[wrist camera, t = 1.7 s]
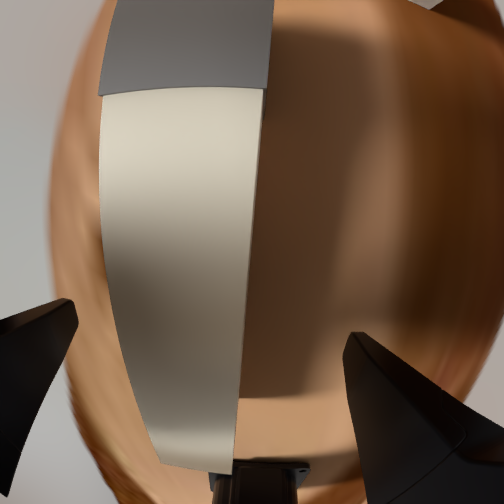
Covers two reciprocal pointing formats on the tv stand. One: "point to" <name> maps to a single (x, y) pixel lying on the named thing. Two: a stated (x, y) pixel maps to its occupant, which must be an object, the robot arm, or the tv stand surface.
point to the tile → (426, 3)
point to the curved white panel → (183, 209)
